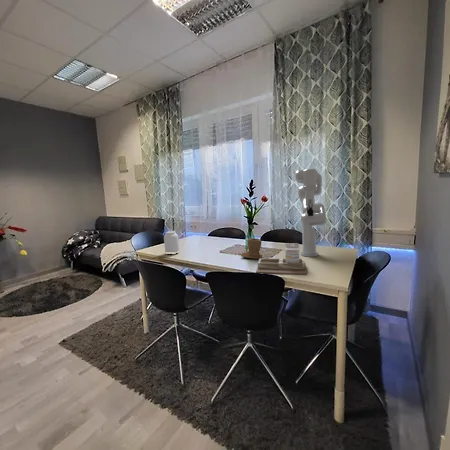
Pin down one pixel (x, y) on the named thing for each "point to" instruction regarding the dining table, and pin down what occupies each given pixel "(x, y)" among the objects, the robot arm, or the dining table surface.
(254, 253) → the brown boots
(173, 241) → the white jar
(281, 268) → the wooden frame
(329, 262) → the dining table surface
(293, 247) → the ink cartridge box
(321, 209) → the robot arm
